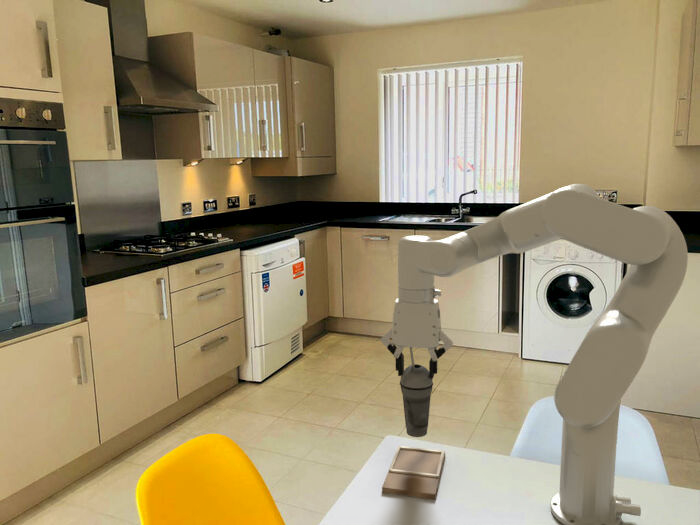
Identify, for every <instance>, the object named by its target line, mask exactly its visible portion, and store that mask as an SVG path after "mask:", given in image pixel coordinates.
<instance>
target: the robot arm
mask: <svg viewBox="0 0 700 525" xmlns="http://www.w3.org/2000/svg"><path fill="white" fill-rule="evenodd" d="M559 240H565V241H566V242H569V243H571V244H574V245H576V246H578V247H580V248H583V249H586V250H588V251H592V252H594V253H597V254H599V255H602V256H605V257H607V258H609V259H612V260H614V261H618V262H621V263H624V264H627V265H629V268H628V269H627V272H626V273H625V275H624V277H623V279H622V280H621V282H620V284H619V286H618V288H617V290H616V292H615V293H614V294H613V297H612V298H611V300H610V302H609V303H608V305H607V306H606V308H605V309H604V311H602V313H601V314H600V315H599V316H598V317H597V319H596V320H595V321H594V322H593V324H592V325H591V327H590V328H589V330H588V332H587V333H586V335H585V336H584V338H583V340H582V341H581V343H580V344H579V347H578V348H577V350H576V352H575V354H574V355H573V357H572V358H571V360H570V362H569V363H568V366H567V367H566V368H565V371H564V373H563V374H562V376H561V378H560V379H559V381H558V383H557V384H556V386H555V388H554V393H553V400H554V406H555V408H556V410H557V412H558V414H559V416H560V417H561V418H562V428H561V429H562V430H561V431H562V432H561V434H562V435H561V449H560V450H561V452H560V469H559V470H560V473H559V474H560V476H559V492H557V493H556V494H555V495H553V496H552V498H551V500H550V511H551V513H552V514H553V517H555V519H556V520H557V521H559V522H560V523H561V524H563V525H621V522H622V515H623V514H626V515H629V516H635V517H637V516H638V517H641V515H642V514H641V513H642V512H641V506H640V504H634V503H633V504H632V500H631V497H620V496H617V495H616V494H615V491H614V490H615V489H614V488H615V475H616V474H615V472H616V462H617V460H616V459H617V444H618V431H619V422H620V421H619V418H620V409H621V400H622V398H623V397H624V395H625V394H626V392H628V389H629V387H630V386H631V384H632V383H633V382H634V381H635V378H636V376H637V375H638V374H639V372H640V370H641V368H642V367H643V365H644V363H645V360H646V358H647V355H648V352H649V349H650V345H651V342H652V339H653V336H654V334H655V333H656V331H657V329H658V328H659V326H660V324H661V323H662V321H663V319H664V318H665V316H666V314H667V313H668V311H669V309H670V308H671V306H672V304H673V302H674V301H675V299H676V297H677V295H678V293H679V291H681V287H682V285H683V282H684V280H685V276H686V274H687V269H688V262H689V260H688V258H689V256H688V254H689V253H688V245H687V242H686V238H685V236H684V234H683V232H682V231H681V229H680V226H679V225H678V224H677V222H676V221H675V220H674V219H673V217H672V216H671V215H670V214H668V213H667V212H666V211H664V210H663V209H661V208H659V207H656V206H652V205H643V206H637V207H633V208H631V207H627V206H624V205H622V204H618V203H615V202H612V201H609V200H607V199H604V198H601V197H600V194H599V193H598V192H597V191H596V190H595V189H594V188H593V187H591V186H590V185H588V184H584V183H573V184H569V185H566V186H563V187H561V188H558V189H556V190H554V191H552V192H550V193H547V194H544V195H542V196H539V197H536V198H534V199H532V200H529V201H527V202H525V203H522V204H520V205H518V206H517V205H516V206H514V207H512V208H509V209H507V210H505V211H503V212H501V213H500V214H499V215H498V216H497V217H494V218H493V219H490V220H489V221H487V222H483V223H481V224H478V225H477V226H474V227H472V228H468V229H466V230H464V231H461V232H458V233H456V234H454V235H450V236H447V237H445V238H442V239H438V240H437V239H436V240H434V239H433V238H432V237H430V236H427V235H417V234H416V235H407V236H403V237H401V238H400V239H399V240H398V242H397V284H398V287H397V289H398V290H397V292H398V293H397V294H398V297H397V298H396V299H395V302H394V306H393V307H394V308H393V314H392V324H391V325H392V326H391V328H390V329H389V330H388V331H387V332H386V333H385V334H384V335H383V336H381V338H380V343H382V345H384V347H386V348H387V351H389V353H391V354H392V355H393V357H394V359H395V371H397V377H401V376H402V373H403V371H404V370H405V355H404V354H403V350H404V348H410V347H412V349H413V348H415V349H416V348H417V349H426V350H428V354H429V356H430V359H429V361H428V362H429V364H428V365H429V366H428V367H429V369H428V371H429V378H430V379H432V380H433V379H434V377H435V375H437V373H438V360H439V359H440V358H441V357H442V356H444V354H445V353H446V352H447V351H449V349H451V348H453V345H454V342H453V340H452V339H451V338H450V337H449V336H448V335H447V334H446V333H445V332H444V331H443V330H442V324H441V323H442V322H441V311H440V310H441V309H440V304H439V300H438V299H436V298H437V297H441V296H442V290H441V289H440V290H439V289H437V288H436V287H435V286H436V285H435V276H436V277H440V278H450V277H453V276H455V275H457V274H460V273H462V272H463V271H465V270H468V269H469V268H472V267H474V266H476V265H479V264H482V263H484V262H488V261H489V260H492V259H495V258H498V257H501V256H504V255H509V254H516V255H517V254H522V253H527V252H529V251H531V250H533V249H537V248H540V247H542V246H546V245H548V244H551V243H554V242H556V241H559ZM440 342H442V343H443V345H442V346H440V347H439V344H440ZM438 347H439V348H438Z"/></svg>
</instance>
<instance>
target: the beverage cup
mask: <svg viewBox="0 0 700 525" xmlns="http://www.w3.org/2000/svg"><path fill="white" fill-rule="evenodd" d="M409 353H410V362H411V365H408V366H407V367H406V368H404V371H403V373H402V376H400V381H399V386H400V390H401V394H402V401H403V402H402V403H403V413H404V420H405V428H406V434H407V436H410V437H412V438H422V437H425V436H426V435H428V427H429V420H430V419H429V417H430V406H431V397H432V396H431V395H432V392H433V386H434V383H433V379H430V378H429V369H428V368H426V367H425V366H423V365H421V364H417V363H416V364H415V361H414V353H413V347H409Z"/></svg>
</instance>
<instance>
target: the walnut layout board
mask: <svg viewBox="0 0 700 525" xmlns="http://www.w3.org/2000/svg"><path fill="white" fill-rule="evenodd" d="M445 460H446V451H445V450H440V449H430V448H421V447H413V446H412V447H411V446H405V445H404V446H403V445H398V446H397V448H396V451H395V453H394V456H393V458H392V461H391V463H390V466H389V468H388V472H387V474H386V477H385V479H384V482H383V484H382V487H381V491H382V492H381V493H384V494H391V495H396V496H397V495H399V496H405V497H414V498H421V499H427V500H436V498H437V495H438V494H437V493H438V489H439V485H440V483H441V482H440V480H441V477H442V473H443V467H444V464H445Z"/></svg>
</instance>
